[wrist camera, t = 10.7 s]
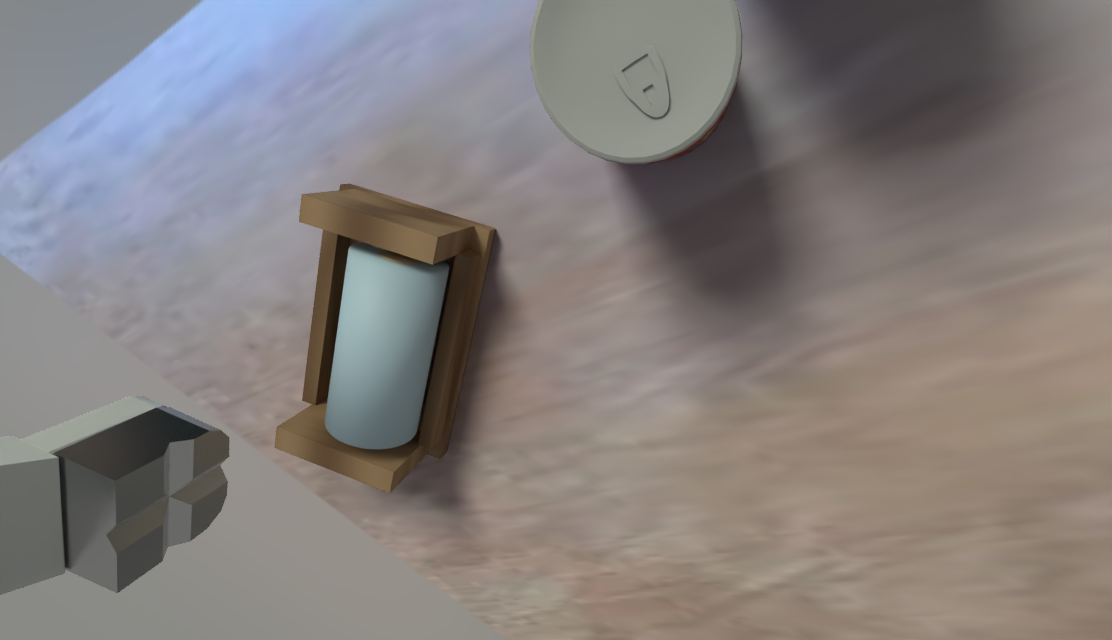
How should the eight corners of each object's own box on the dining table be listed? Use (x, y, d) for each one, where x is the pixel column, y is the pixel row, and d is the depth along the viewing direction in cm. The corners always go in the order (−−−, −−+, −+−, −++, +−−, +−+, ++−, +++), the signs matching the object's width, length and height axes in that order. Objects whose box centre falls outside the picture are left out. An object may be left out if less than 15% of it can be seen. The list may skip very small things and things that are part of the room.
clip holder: (495, 228, 36) (455, 242, 30) (446, 451, 41) (404, 499, 35) (349, 183, 37) (285, 189, 32) (319, 404, 42) (260, 442, 37)
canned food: (656, 190, 33) (631, 207, 23) (556, 86, 33) (485, 56, 22) (766, 81, 30) (795, 43, 20) (657, -33, 30) (629, -130, 20)
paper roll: (454, 254, 37) (444, 280, 31) (423, 411, 40) (409, 457, 35) (362, 233, 36) (336, 256, 31) (338, 395, 39) (311, 440, 34)
